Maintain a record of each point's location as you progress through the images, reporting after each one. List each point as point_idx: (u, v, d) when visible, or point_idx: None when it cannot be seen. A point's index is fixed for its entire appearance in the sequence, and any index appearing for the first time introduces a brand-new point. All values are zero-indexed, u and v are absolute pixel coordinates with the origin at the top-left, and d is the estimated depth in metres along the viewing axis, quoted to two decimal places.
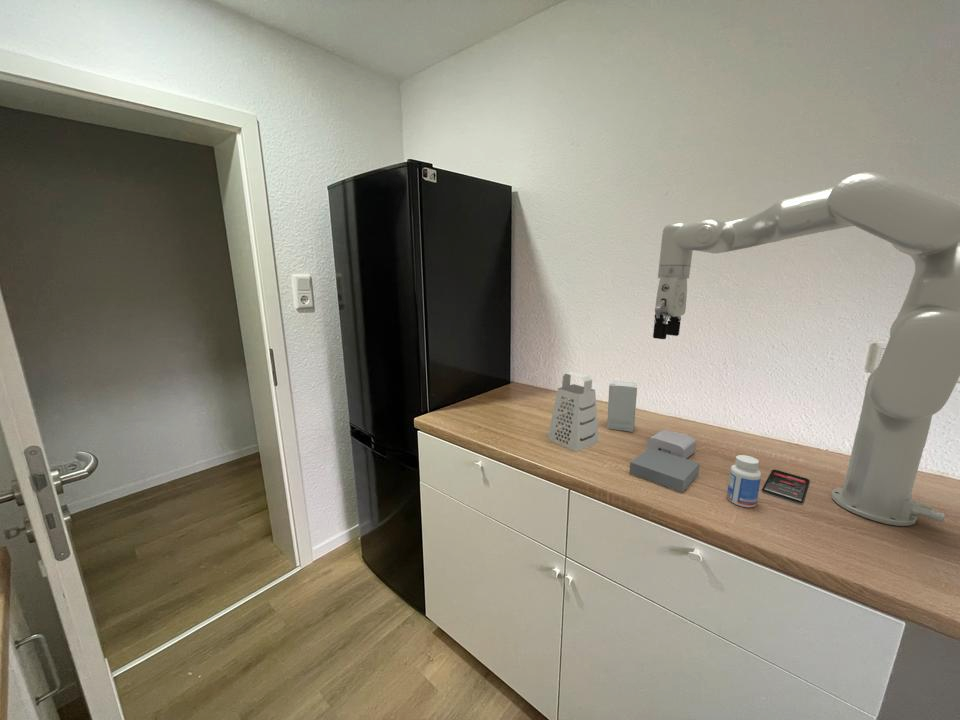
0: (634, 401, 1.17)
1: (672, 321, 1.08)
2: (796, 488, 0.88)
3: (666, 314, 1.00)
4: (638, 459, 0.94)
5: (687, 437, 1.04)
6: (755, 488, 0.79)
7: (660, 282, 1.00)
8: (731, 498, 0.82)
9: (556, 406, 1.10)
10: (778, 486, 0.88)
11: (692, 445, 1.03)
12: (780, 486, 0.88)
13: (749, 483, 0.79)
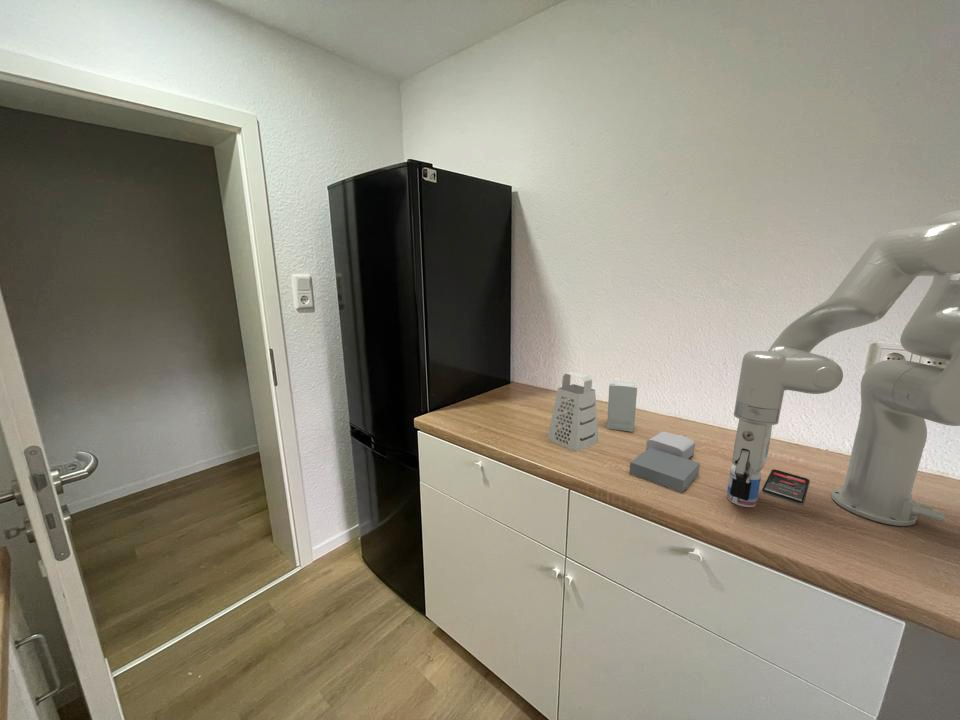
0: (634, 401, 1.17)
1: None
2: (796, 488, 0.88)
3: (749, 471, 0.77)
4: (638, 459, 0.94)
5: (686, 439, 1.03)
6: (754, 488, 0.79)
7: (740, 426, 0.77)
8: (731, 498, 0.82)
9: (556, 406, 1.10)
10: (778, 486, 0.88)
11: (691, 447, 1.01)
12: (780, 486, 0.88)
13: None
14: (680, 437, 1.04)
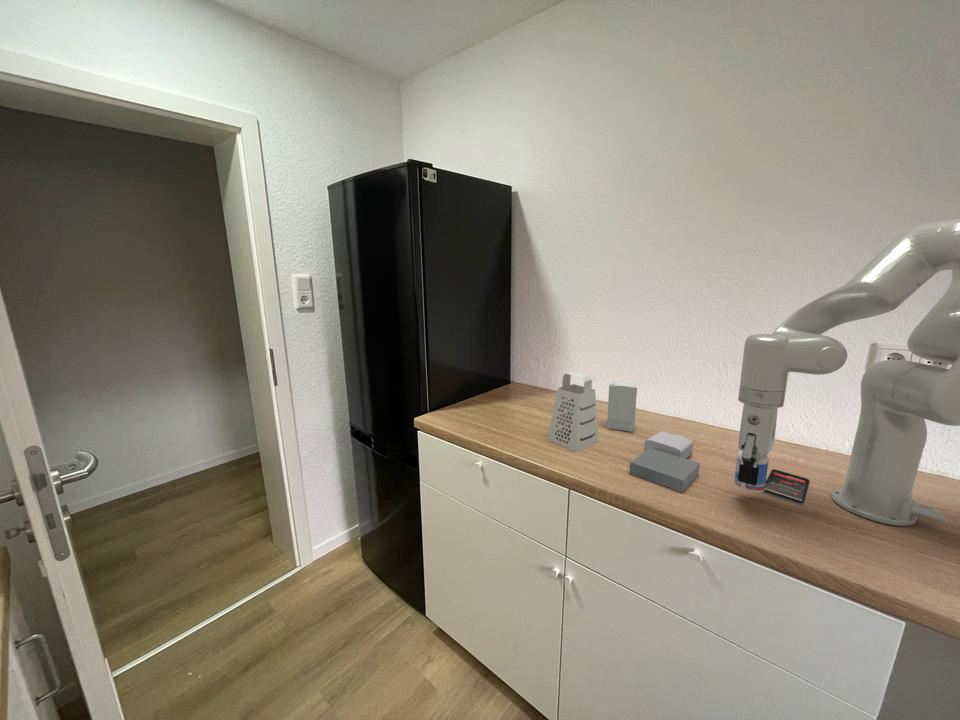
0: (634, 401, 1.17)
1: None
2: (796, 488, 0.88)
3: (756, 455, 0.77)
4: (638, 459, 0.94)
5: (684, 439, 1.03)
6: (762, 472, 0.78)
7: (745, 410, 0.76)
8: (739, 484, 0.81)
9: (556, 406, 1.10)
10: (778, 486, 0.88)
11: (689, 447, 1.01)
12: (780, 486, 0.88)
13: None
14: (678, 437, 1.04)
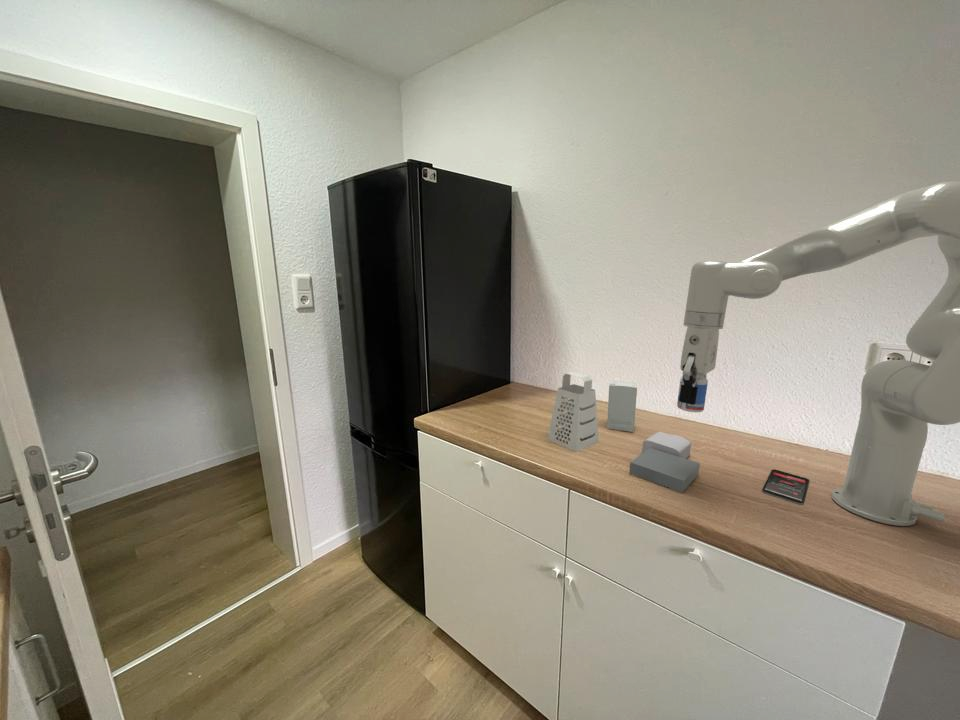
0: (634, 401, 1.17)
1: None
2: (796, 488, 0.88)
3: (695, 375, 0.82)
4: (638, 459, 0.94)
5: (682, 439, 1.03)
6: (701, 393, 0.84)
7: (688, 332, 0.81)
8: (680, 405, 0.86)
9: (556, 406, 1.10)
10: (778, 486, 0.88)
11: (687, 448, 1.01)
12: (780, 486, 0.88)
13: None
14: (676, 437, 1.04)
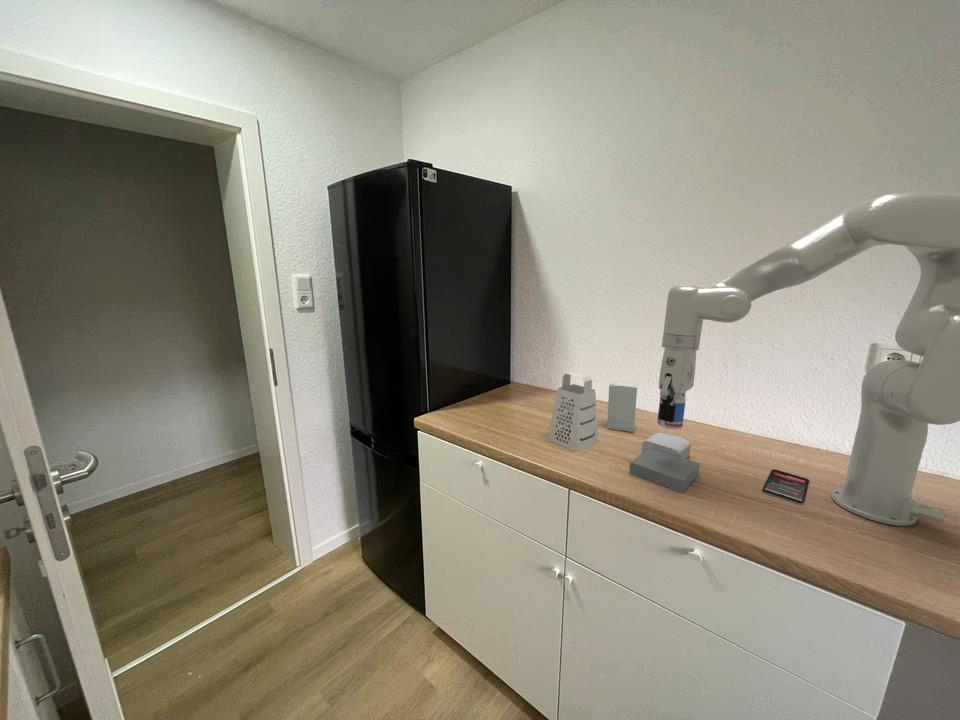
0: (634, 401, 1.17)
1: None
2: (796, 488, 0.88)
3: (673, 394, 0.86)
4: (638, 459, 0.94)
5: (682, 440, 1.03)
6: (679, 411, 0.87)
7: (665, 354, 0.85)
8: (660, 422, 0.90)
9: (556, 406, 1.10)
10: (778, 486, 0.88)
11: (687, 448, 1.01)
12: (780, 486, 0.88)
13: None
14: (676, 438, 1.04)
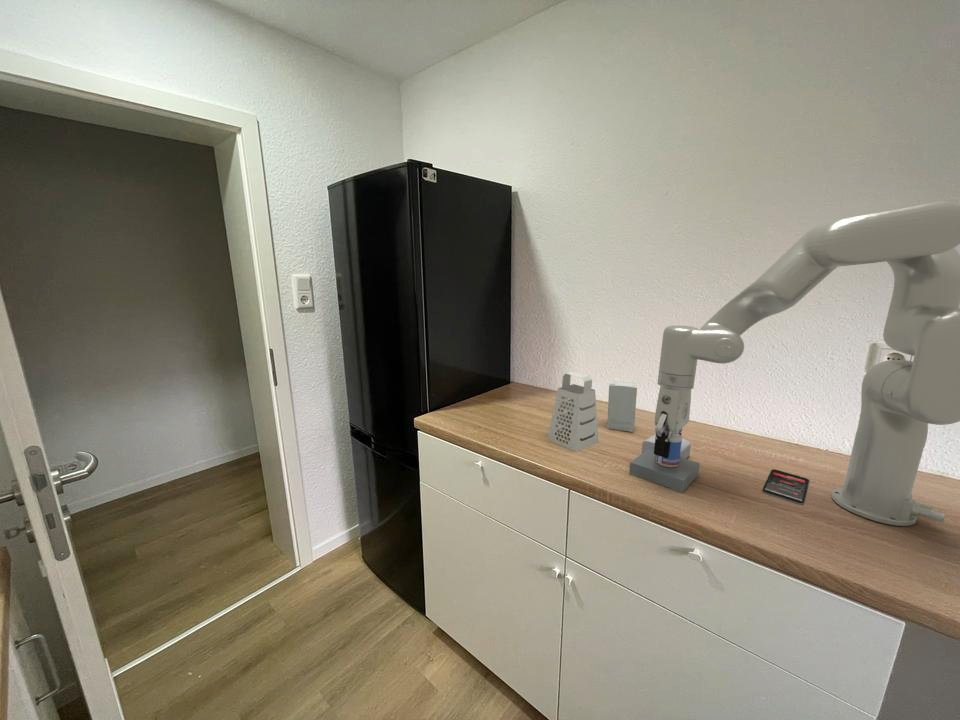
0: (634, 401, 1.17)
1: None
2: (796, 488, 0.88)
3: (668, 431, 0.87)
4: (638, 459, 0.94)
5: (682, 440, 1.02)
6: (675, 449, 0.89)
7: (660, 392, 0.87)
8: (657, 460, 0.92)
9: (556, 406, 1.10)
10: (778, 486, 0.88)
11: (687, 448, 1.01)
12: (780, 486, 0.88)
13: (671, 445, 0.89)
14: None
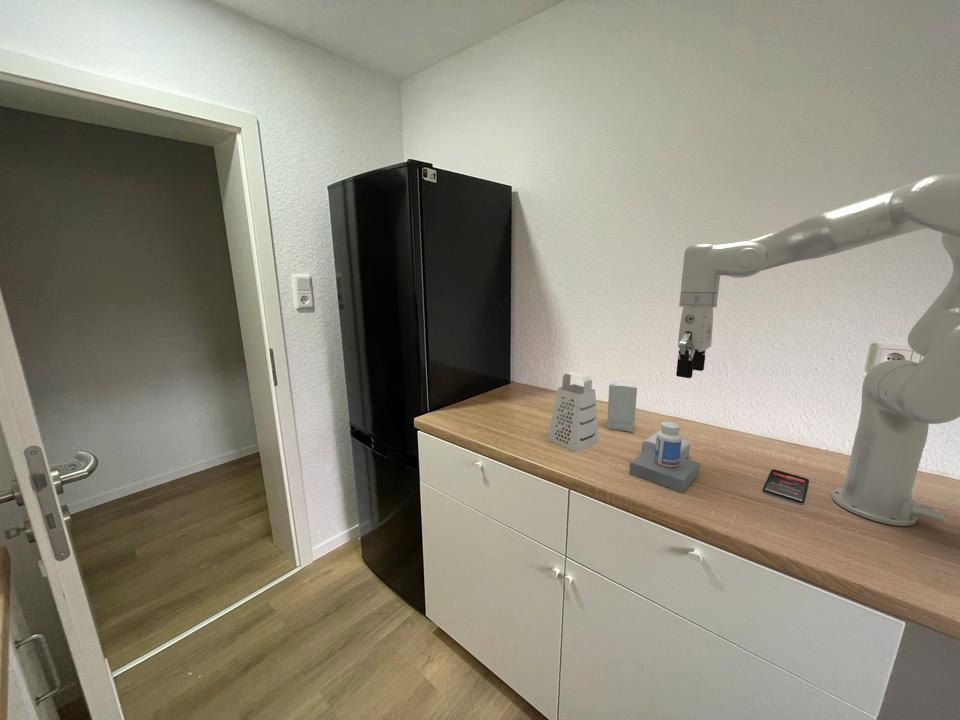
0: (634, 401, 1.17)
1: (696, 354, 0.93)
2: (796, 488, 0.88)
3: (692, 349, 0.85)
4: (638, 459, 0.94)
5: None
6: (675, 449, 0.89)
7: (683, 312, 0.86)
8: (657, 460, 0.92)
9: (556, 406, 1.10)
10: (778, 486, 0.88)
11: (686, 448, 1.01)
12: (780, 486, 0.88)
13: (671, 445, 0.89)
14: None
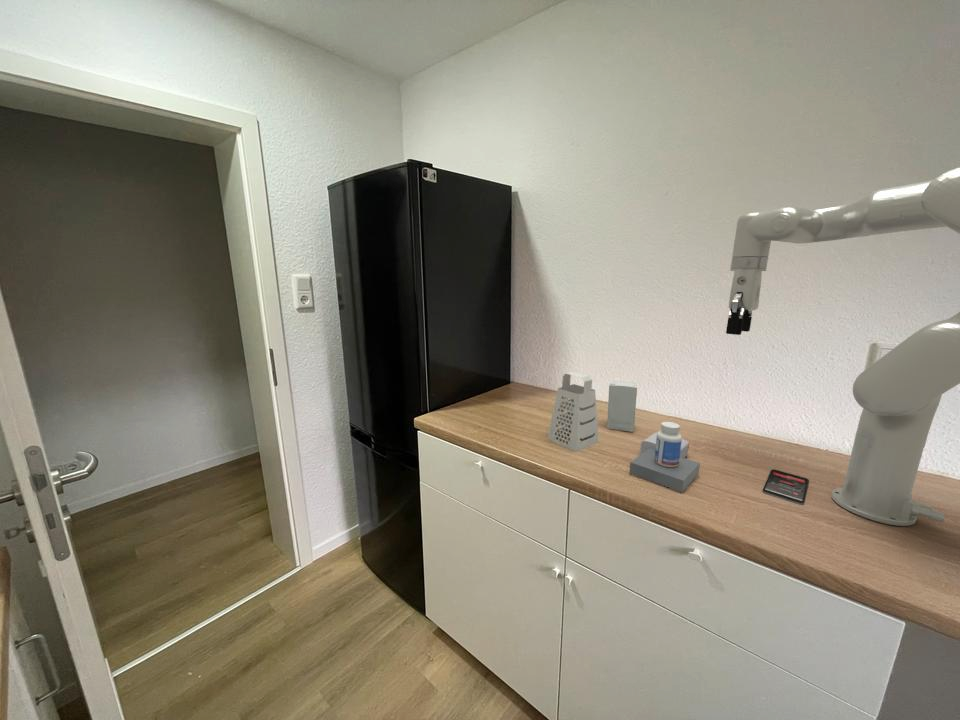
0: (634, 401, 1.17)
1: (743, 316, 1.02)
2: (796, 488, 0.88)
3: (742, 308, 0.95)
4: (638, 459, 0.94)
5: None
6: (675, 449, 0.89)
7: (735, 275, 0.95)
8: (657, 460, 0.92)
9: (556, 406, 1.10)
10: (778, 486, 0.88)
11: (685, 448, 1.01)
12: (780, 486, 0.88)
13: (671, 445, 0.89)
14: None
